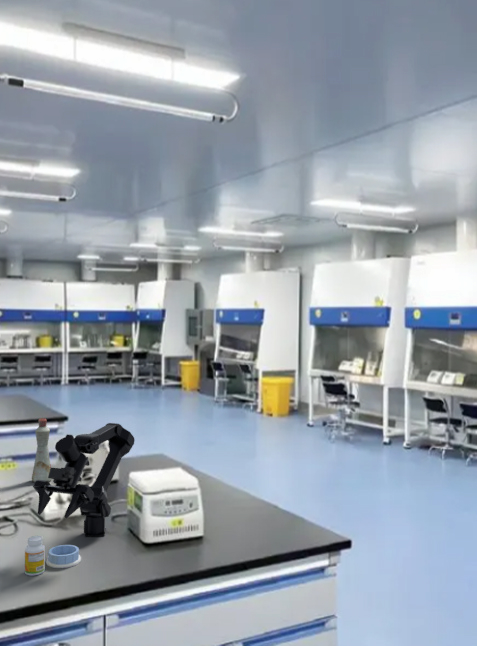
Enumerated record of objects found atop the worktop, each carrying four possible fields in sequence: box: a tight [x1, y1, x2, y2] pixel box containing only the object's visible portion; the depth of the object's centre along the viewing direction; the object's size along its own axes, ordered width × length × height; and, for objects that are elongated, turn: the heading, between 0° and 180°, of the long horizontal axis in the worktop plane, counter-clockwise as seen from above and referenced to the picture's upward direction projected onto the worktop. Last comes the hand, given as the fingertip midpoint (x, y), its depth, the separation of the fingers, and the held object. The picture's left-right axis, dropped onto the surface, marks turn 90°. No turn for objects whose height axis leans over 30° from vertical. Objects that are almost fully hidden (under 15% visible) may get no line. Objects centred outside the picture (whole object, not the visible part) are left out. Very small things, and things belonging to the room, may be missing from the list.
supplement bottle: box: [24, 535, 46, 576], centre depth 175 cm, size 5×5×10 cm
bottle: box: [31, 417, 52, 483], centre depth 270 cm, size 9×9×28 cm
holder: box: [45, 544, 82, 569], centre depth 183 cm, size 10×10×3 cm
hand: (51, 516), depth 182 cm, fingers open, 9 cm apart
